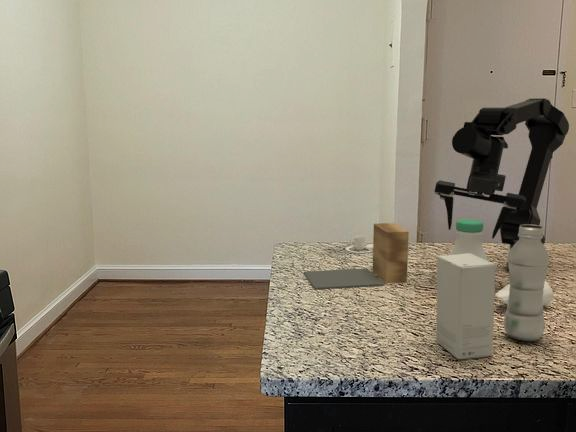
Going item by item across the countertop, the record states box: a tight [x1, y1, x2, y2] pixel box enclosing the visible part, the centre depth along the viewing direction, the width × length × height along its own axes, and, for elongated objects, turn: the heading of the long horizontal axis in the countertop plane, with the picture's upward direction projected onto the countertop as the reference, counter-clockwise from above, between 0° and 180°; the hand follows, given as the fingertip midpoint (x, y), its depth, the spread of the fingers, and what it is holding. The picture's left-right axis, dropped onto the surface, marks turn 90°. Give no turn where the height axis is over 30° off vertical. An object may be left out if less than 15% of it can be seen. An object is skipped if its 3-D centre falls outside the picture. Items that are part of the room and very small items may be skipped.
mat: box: [303, 267, 385, 290], centre depth 137 cm, size 16×13×1 cm
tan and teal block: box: [372, 222, 410, 284], centre depth 138 cm, size 5×10×12 cm, turn 10°
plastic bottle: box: [503, 224, 550, 342], centre depth 101 cm, size 6×7×20 cm
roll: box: [494, 280, 554, 307], centre depth 117 cm, size 6×12×6 cm, turn 113°
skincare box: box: [435, 253, 497, 360], centre depth 97 cm, size 8×7×16 cm
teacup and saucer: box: [345, 235, 373, 254], centre depth 165 cm, size 9×8×4 cm
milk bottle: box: [448, 218, 489, 261], centre depth 106 cm, size 8×8×20 cm
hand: (470, 234), depth 127 cm, fingers open, 9 cm apart
